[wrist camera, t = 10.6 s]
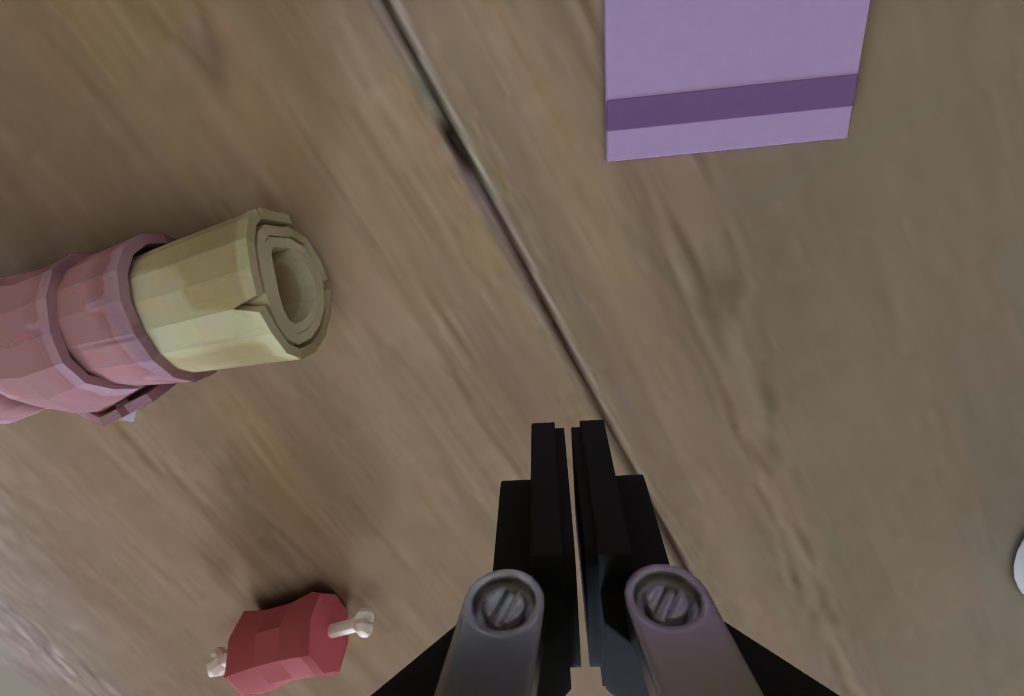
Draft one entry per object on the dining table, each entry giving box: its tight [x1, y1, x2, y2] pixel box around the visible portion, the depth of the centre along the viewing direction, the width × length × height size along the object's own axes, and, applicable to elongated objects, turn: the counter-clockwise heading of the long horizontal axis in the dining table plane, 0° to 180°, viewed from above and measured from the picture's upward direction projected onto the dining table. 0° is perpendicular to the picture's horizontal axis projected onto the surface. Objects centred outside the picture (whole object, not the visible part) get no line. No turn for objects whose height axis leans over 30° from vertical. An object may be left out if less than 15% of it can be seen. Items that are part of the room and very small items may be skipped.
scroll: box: [0, 208, 332, 427], centre depth 23 cm, size 8×8×20 cm
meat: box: [207, 592, 374, 695], centre depth 33 cm, size 12×5×5 cm, turn 112°
